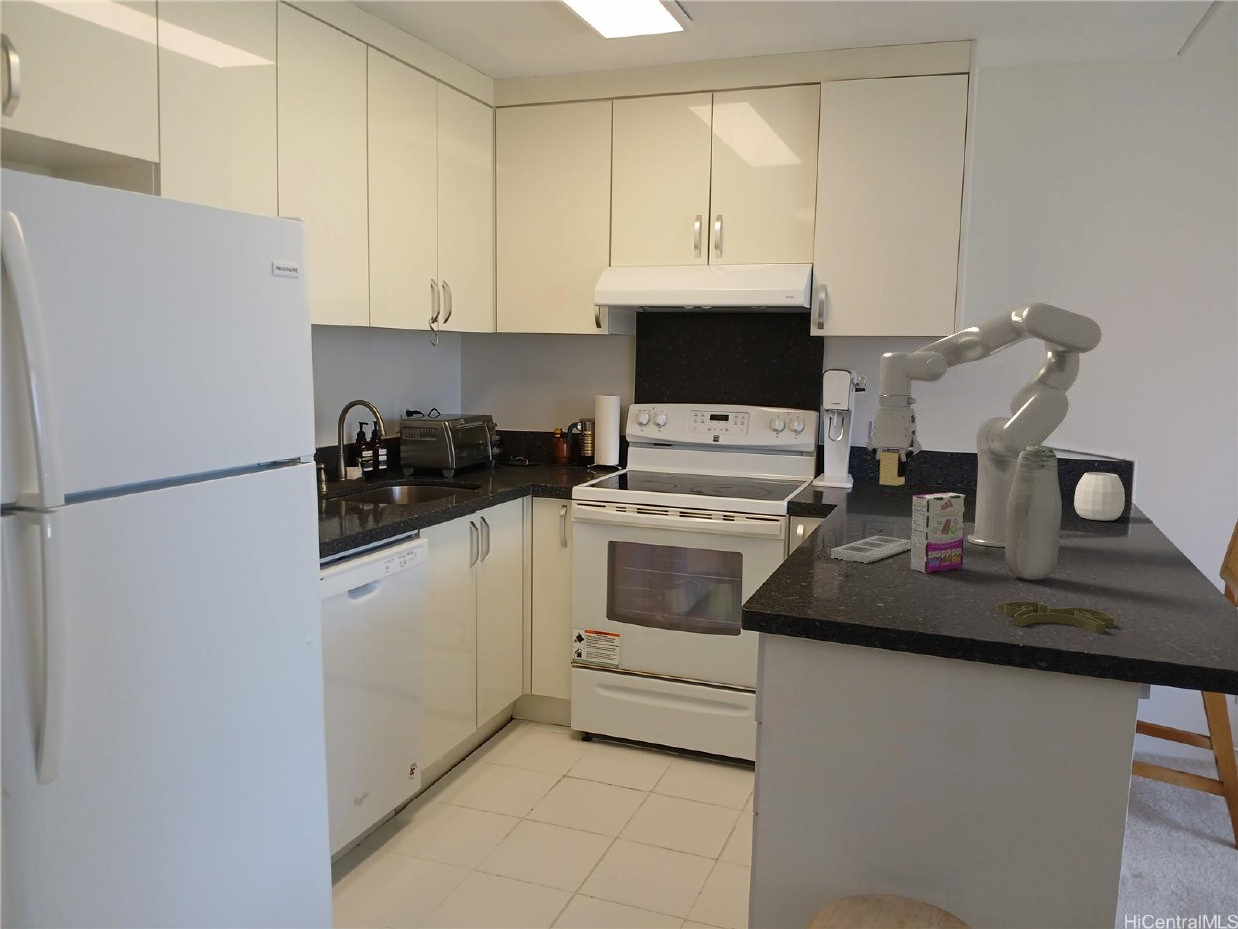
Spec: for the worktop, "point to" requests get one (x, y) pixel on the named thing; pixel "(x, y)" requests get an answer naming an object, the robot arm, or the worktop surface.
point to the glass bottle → (1034, 515)
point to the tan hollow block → (890, 468)
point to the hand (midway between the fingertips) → (892, 475)
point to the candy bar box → (937, 532)
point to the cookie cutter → (1055, 615)
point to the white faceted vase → (1099, 496)
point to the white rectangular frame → (871, 549)
